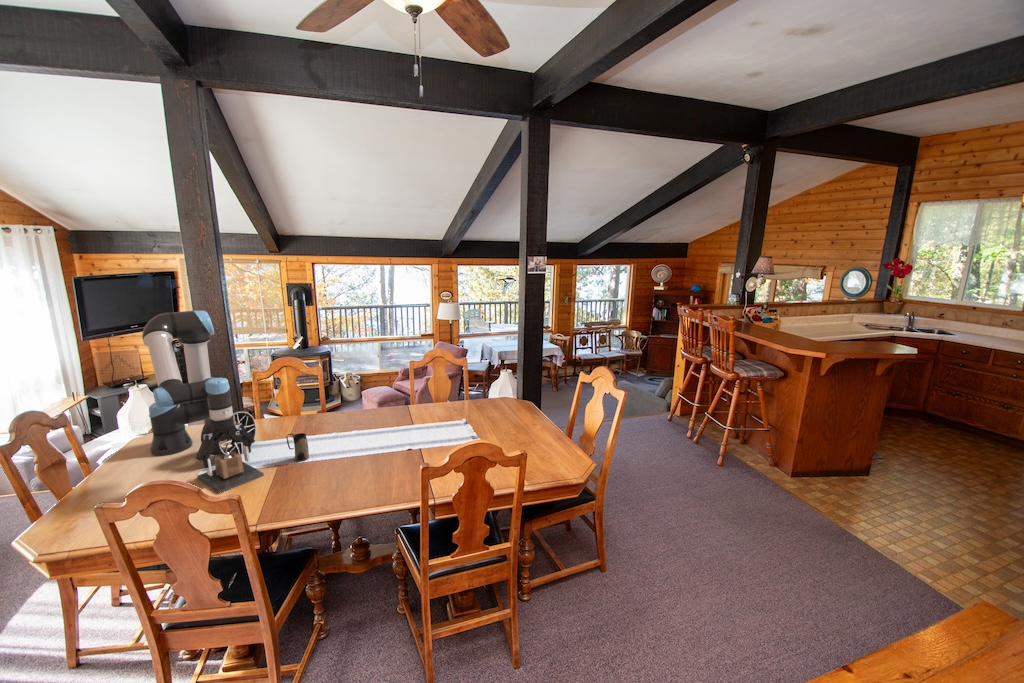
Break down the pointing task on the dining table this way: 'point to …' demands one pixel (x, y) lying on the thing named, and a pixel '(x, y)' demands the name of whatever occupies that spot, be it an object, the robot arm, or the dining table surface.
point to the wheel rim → (236, 444)
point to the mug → (300, 447)
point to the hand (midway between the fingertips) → (229, 467)
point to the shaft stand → (233, 481)
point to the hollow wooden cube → (229, 465)
